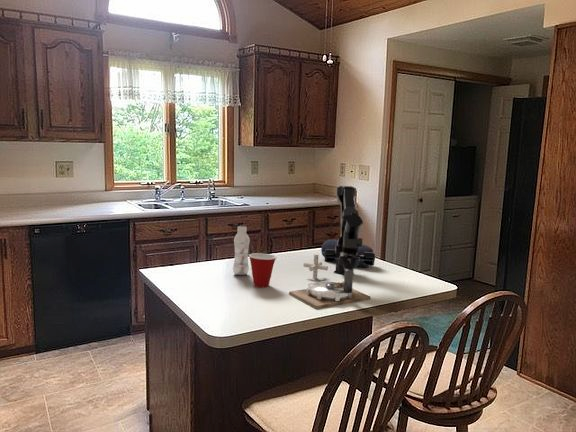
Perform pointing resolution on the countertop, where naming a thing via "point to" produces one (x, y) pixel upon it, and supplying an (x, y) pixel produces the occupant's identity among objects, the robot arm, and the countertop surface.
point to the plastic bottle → (241, 251)
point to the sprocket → (333, 288)
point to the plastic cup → (262, 268)
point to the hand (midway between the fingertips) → (348, 277)
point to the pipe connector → (315, 266)
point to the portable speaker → (332, 244)
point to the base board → (322, 303)
